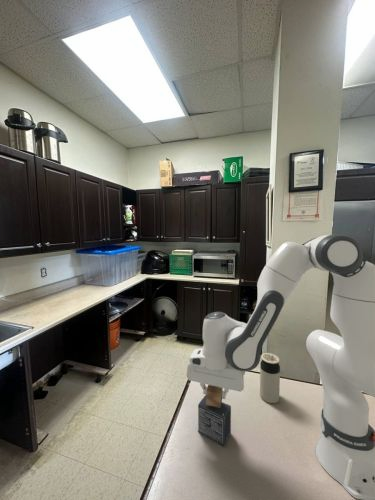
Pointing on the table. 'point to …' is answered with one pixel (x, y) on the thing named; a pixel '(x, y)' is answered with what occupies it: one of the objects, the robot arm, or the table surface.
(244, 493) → the table surface
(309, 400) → the table surface
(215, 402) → the tan cube
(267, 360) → the travel mug
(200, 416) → the small box
